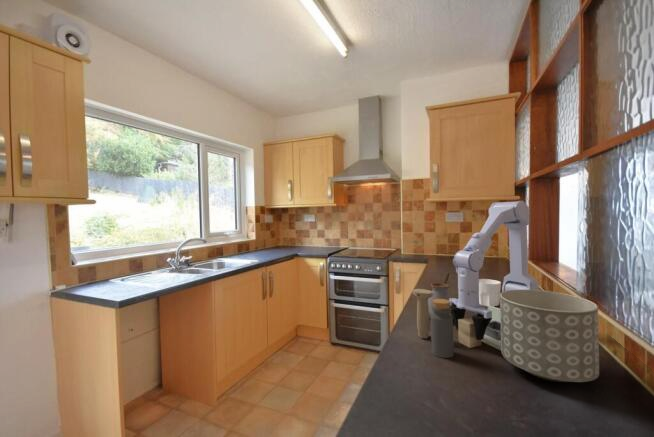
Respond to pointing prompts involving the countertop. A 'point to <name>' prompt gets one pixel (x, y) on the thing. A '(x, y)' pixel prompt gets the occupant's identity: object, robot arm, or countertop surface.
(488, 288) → the cup
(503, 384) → the countertop surface
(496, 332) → the grey square frame
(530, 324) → the planter
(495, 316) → the mounting board
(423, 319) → the handle
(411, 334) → the countertop surface
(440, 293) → the coffee pot
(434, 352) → the bottle
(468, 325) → the oak post
